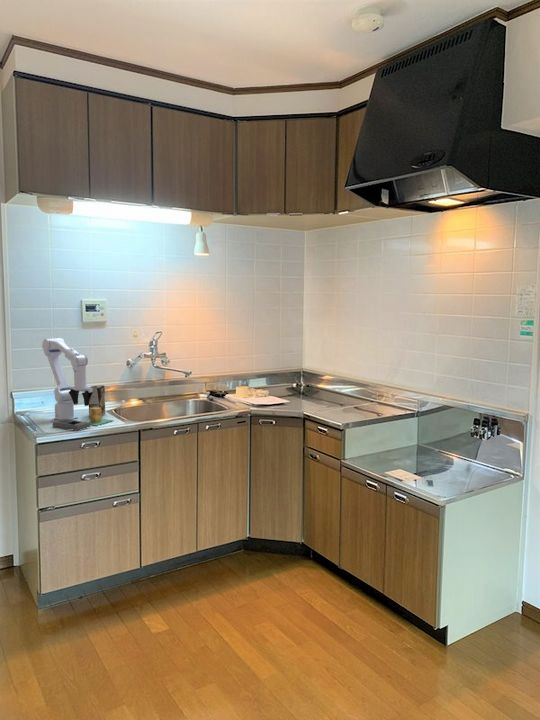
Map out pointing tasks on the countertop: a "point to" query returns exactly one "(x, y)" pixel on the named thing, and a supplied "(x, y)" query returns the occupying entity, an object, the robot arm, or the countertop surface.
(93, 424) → the mat
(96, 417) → the peg
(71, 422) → the rail plate
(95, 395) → the coffee box
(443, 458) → the countertop surface
